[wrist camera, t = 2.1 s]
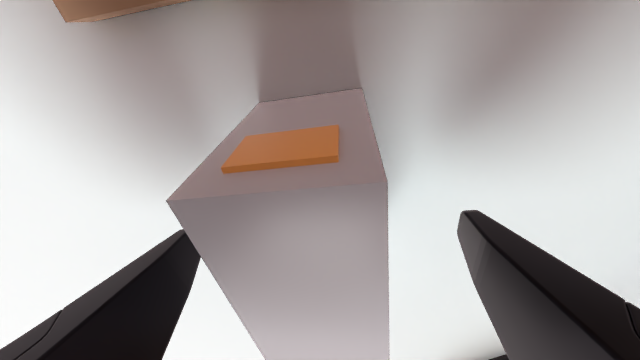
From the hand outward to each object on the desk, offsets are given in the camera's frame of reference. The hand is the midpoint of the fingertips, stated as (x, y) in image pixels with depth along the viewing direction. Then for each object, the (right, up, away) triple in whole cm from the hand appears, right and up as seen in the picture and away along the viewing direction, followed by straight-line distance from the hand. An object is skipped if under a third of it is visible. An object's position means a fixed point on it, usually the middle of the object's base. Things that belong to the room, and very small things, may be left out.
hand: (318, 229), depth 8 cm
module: (0, +2, +3) cm, 4 cm away
